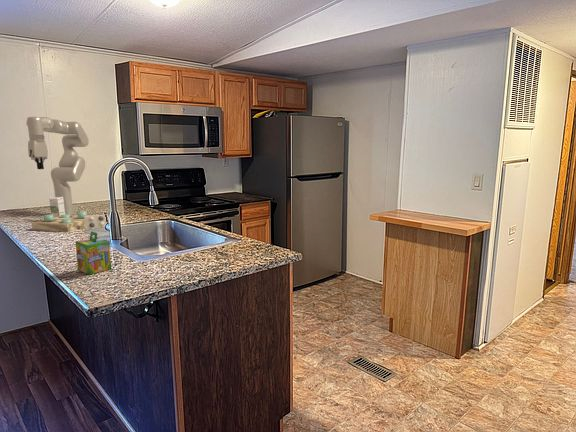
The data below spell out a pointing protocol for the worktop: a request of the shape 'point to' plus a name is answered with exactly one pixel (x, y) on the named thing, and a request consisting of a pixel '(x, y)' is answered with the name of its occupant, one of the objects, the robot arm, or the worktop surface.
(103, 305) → the worktop surface
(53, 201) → the syrup box
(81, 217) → the button
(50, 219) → the button
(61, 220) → the button
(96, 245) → the chalk box
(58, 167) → the robot arm
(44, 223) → the board
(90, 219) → the plaque
